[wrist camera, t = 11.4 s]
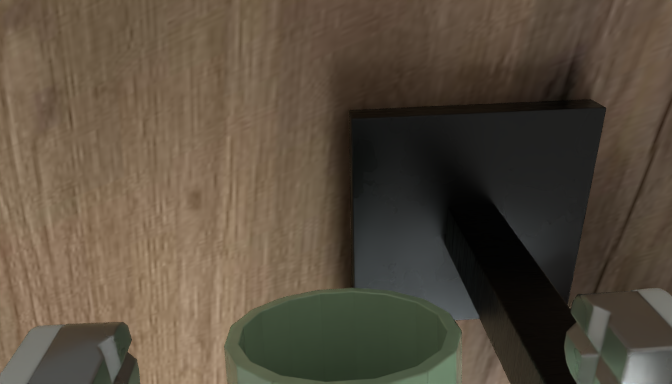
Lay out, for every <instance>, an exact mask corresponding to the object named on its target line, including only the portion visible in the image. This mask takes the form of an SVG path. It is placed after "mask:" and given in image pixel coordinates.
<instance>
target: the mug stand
mask: <svg viewBox="0 0 672 384" xmlns="http://www.w3.org/2000/svg"><path fill="white" fill-rule="evenodd" d="M605 112H606V107H604V106H602V105H600V104H599V103H597V102H595V101H593V100H591V99H590V100H567V101H545V102H522V103H499V104H477V105H454V106H432V107H409V108H386V109H364V110H349V159H350V220H351V281H352V288H364V289H376V290H389V291H395V292H399V293H402V294H406V295H410V296H414V297H418V298H422V299H425V300H427V301H429V302H431V303H433V304H434V305H436V306H438V307H440V308H442V309H444V310H446V311H447V312H449V313H450V314H451V316H452V317H453V319H454V320H467V319H480V320H481V322H482V324H483V327H484V329H485V331H486V333H487V335H488V337H489V339H490V341H491V343H492V346H493V348H494V350H495V352H496V354H497V356H498V358H499V360H500V362H501V365H502V367H503V369H504V371H505V373H506V375H507V377H508V379H509V381H510V384H577V383H576V381H575V380H574V378H573V376H572V375H571V373H570V371H569V368H568V365H567V362H566V357H565V349H564V344H565V338H566V332H567V331H568V330H569V329H570V328H571V327H572V326H573V325H574V324H575V323H576V322H577V321H576V320H575V318H574V317H573V316H572V314H571V313H570V312H571V309H570V308H569V306H568V300H569V295H570V290H571V285H572V280H573V275H574V270H575V264H576V259H577V254H578V249H579V244H580V239H581V234H582V229H583V224H584V219H585V214H586V208H587V203H588V198H589V193H590V188H591V183H592V178H593V173H594V168H595V163H596V158H597V152H598V147H599V142H600V137H601V132H602V127H603V122H604V117H605Z"/></svg>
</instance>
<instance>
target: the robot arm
mask: <svg viewBox="0 0 672 384" xmlns="http://www.w3.org/2000/svg"><path fill="white" fill-rule="evenodd" d="M570 313H571V314H572V316H573V317H574V318H575V320H576V321H577V322H576V323H575V324H574V325H573V326H572V327H571V328H570V329H569V330H568V331H567V332H566V338H565V344H564V349H565V357H566V362H567V365H568V368H569V371H570V373H571V375H572V376H573V378H574V380H575V381H576V383H577V384H672V296H671V295H670V294H669V293H668V292H667V291H665V290H662V289H660V288H650V289H639V290H631V291H624V292H608V293H593V294H578V295H577V296H576V297H575V299H574V301H573V303H572V308H571V312H570ZM131 341H132V339H131V335H130V332H129V328H128V325H126V324H125V323H124V322H108V323H83V324H66V325H44V326H37V327H35V328H33V329H31V330H30V331H29V333H28V334H27V336H26V337H25V338H24V340H23V341H22V343H21V344H20V346H19V347H18V349H17V350H16V352H15V353H14V355H13V356H12V358H11V359H10V361H9V362H8V364H7V365H6V367H5V368H4V370H3V371H2V373H1V374H0V384H140V376H139V368H138V363H137V359H136V358H134V357H133V356H132V355H131V354H129V353H128V352H127V351H128V349H129V346H130V343H131Z"/></svg>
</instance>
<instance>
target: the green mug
mask: <svg viewBox="0 0 672 384" xmlns="http://www.w3.org/2000/svg"><path fill="white" fill-rule="evenodd" d="M224 351H225V363H226V374H227V384H462V332H461V329H460V328H459V326H458V325H457V323H456V322H455V320H454V319H453V317H452V316H451V314H450V313H449V312H447V311H446V310H444V309H442V308H440V307H438V306H436V305H434V304H433V303H431V302H429V301H427V300H425V299H422V298H418V297H414V296H410V295H406V294H402V293H399V292H395V291H389V290H376V289H364V288H343V289H327V290H315V291H311V292H306V293H301V294H296V295H291V296H286V297H283V298H279V299H277V300H274V301H272V302H269V303H267V304H264V305H262V306H260V307H257V308H255V309H253V310H251V311H249V312H248V313H247V314H246V315H244V316H243V317H242V318H241V319H239V320H238V321H237V322H236V323H234V324H233V325H232V326H231V327H230V330H229V333H228V336H227V339H226V342H225V345H224Z"/></svg>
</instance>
